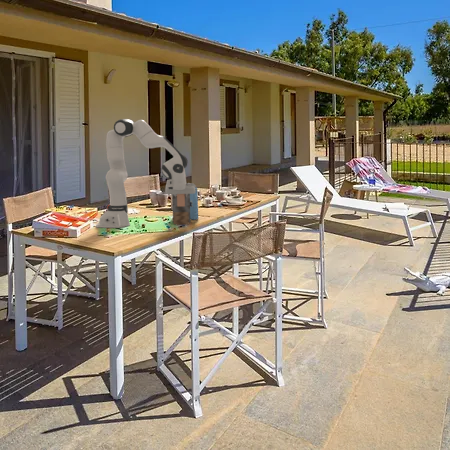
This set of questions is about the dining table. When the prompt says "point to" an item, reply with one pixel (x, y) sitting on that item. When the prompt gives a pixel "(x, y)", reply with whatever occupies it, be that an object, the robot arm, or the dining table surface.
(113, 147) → the robot arm
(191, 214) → the gum box
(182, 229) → the dining table surface
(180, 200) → the salmon brown rectangular block
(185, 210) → the wall board with cleat
